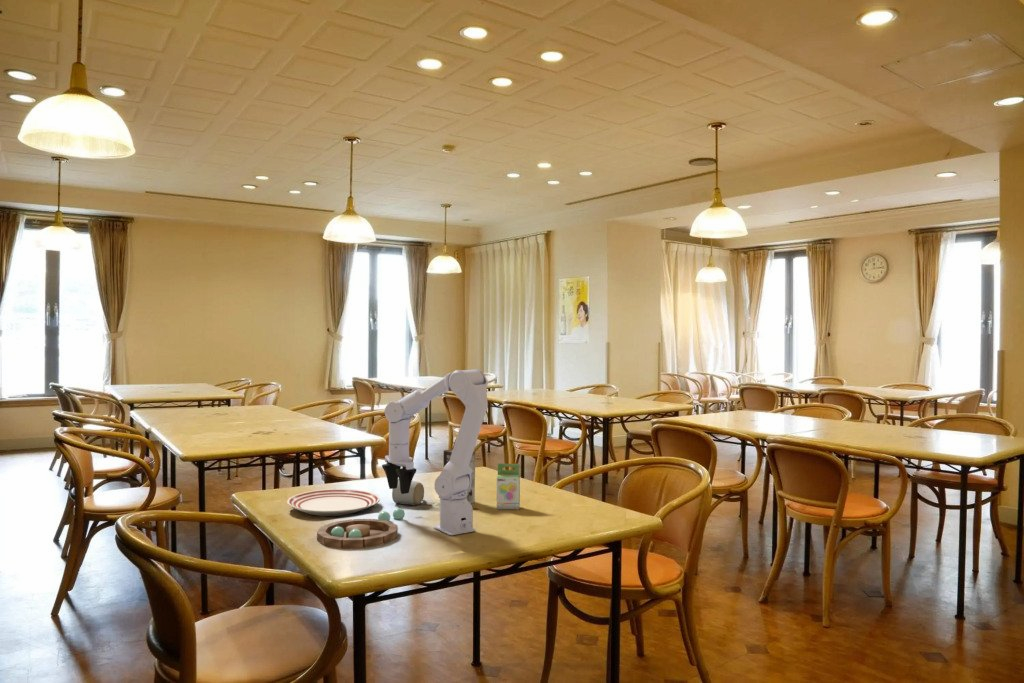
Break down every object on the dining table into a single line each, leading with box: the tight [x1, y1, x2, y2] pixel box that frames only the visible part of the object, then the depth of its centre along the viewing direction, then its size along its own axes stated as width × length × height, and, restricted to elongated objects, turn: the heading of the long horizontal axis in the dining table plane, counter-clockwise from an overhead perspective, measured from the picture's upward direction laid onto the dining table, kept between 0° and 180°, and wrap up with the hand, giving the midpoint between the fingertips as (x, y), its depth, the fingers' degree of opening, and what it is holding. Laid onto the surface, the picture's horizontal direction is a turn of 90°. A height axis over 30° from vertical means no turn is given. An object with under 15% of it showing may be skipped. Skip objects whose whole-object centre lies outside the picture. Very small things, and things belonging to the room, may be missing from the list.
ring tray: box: [316, 518, 399, 549], centre depth 183 cm, size 20×20×3 cm
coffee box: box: [442, 448, 476, 504], centre depth 225 cm, size 9×6×16 cm
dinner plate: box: [286, 488, 381, 517], centre depth 216 cm, size 27×27×3 cm
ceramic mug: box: [391, 478, 425, 506], centre depth 223 cm, size 11×8×8 cm
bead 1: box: [377, 510, 391, 521], centre depth 198 cm, size 3×3×3 cm
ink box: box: [496, 463, 521, 511], centre depth 217 cm, size 7×4×13 cm, turn 87°
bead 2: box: [392, 507, 406, 520], centre depth 202 cm, size 3×3×3 cm
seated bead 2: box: [348, 529, 362, 538], centre depth 178 cm, size 3×3×3 cm
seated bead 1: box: [331, 527, 345, 537], centre depth 180 cm, size 3×3×3 cm
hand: (398, 490), depth 202 cm, fingers open, 7 cm apart
